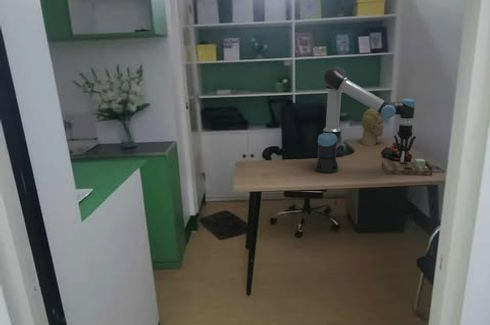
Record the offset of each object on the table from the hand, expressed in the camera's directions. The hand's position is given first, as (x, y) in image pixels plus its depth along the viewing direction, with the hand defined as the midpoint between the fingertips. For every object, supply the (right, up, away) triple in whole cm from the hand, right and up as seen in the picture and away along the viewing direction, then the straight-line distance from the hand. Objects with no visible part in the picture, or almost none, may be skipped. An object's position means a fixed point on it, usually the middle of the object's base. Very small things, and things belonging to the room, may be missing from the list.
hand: (401, 161), depth 228 cm
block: (+10, -3, -1) cm, 11 cm away
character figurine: (+6, 0, +23) cm, 23 cm away
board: (+3, -6, +1) cm, 6 cm away
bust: (+7, +15, +73) cm, 75 cm away
